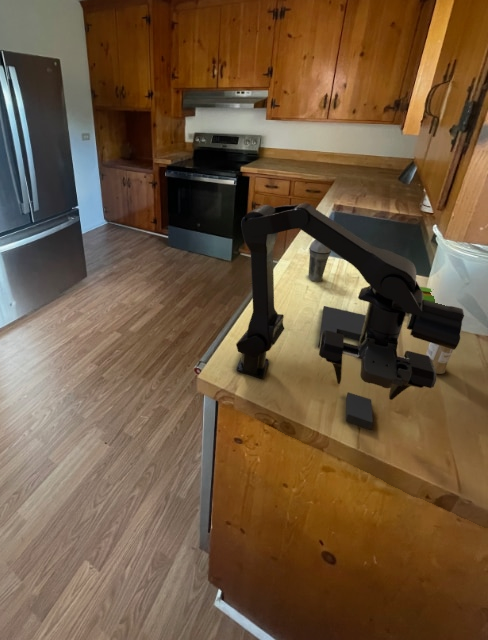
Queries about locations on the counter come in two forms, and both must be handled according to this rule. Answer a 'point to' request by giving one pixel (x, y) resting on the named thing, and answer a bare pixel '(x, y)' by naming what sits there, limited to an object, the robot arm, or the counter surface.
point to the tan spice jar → (439, 356)
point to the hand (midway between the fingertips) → (363, 390)
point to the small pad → (359, 410)
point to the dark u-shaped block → (342, 322)
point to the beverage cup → (317, 260)
